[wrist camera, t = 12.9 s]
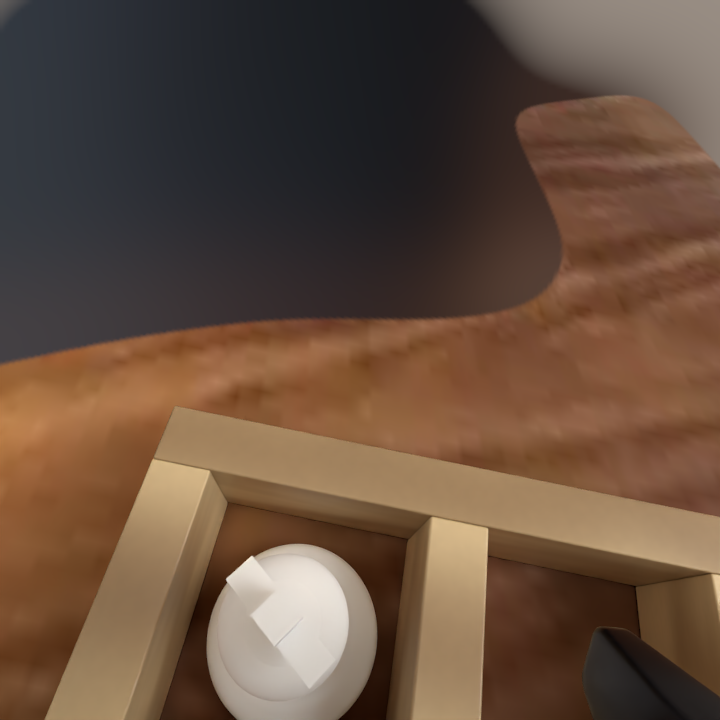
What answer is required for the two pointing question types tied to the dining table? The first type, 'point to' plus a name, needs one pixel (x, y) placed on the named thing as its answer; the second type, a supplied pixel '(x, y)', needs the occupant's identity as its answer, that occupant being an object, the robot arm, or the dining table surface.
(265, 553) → the chess piece
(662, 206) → the dining table surface
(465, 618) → the rack
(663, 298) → the dining table surface
